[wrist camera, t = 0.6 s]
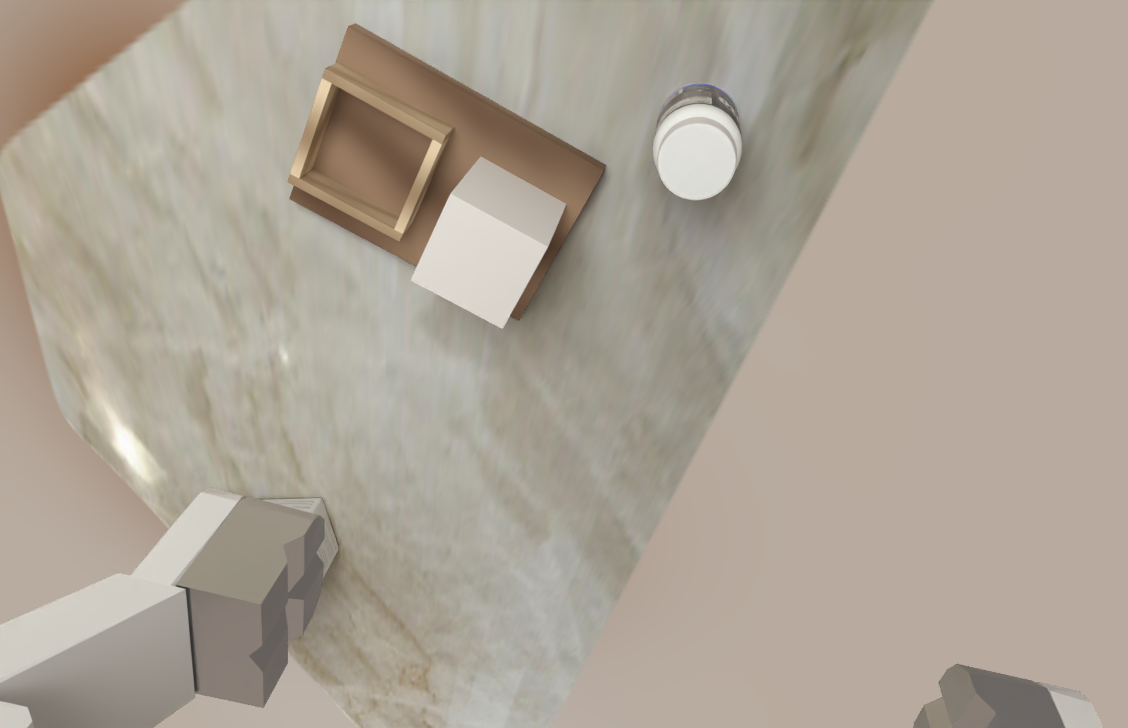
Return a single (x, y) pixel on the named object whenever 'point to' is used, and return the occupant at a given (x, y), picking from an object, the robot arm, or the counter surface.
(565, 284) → the counter surface
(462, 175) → the board
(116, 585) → the robot arm
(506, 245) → the block
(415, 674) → the counter surface
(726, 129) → the pill bottle
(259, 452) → the counter surface
